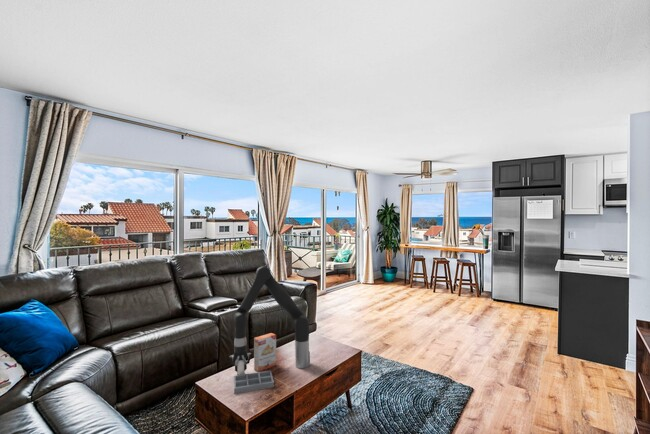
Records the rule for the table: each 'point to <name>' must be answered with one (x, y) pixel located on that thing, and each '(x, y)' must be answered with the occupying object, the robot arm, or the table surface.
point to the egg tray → (253, 381)
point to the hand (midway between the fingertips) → (240, 370)
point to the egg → (240, 368)
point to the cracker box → (264, 352)
